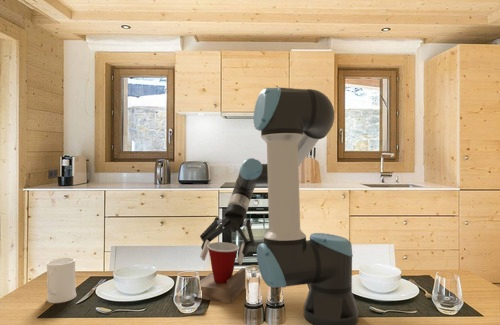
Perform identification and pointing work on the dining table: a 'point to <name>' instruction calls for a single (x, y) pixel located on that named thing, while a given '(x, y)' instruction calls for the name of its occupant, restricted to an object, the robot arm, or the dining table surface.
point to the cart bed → (223, 287)
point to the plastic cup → (222, 260)
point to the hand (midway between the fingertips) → (220, 260)
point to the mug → (61, 280)
